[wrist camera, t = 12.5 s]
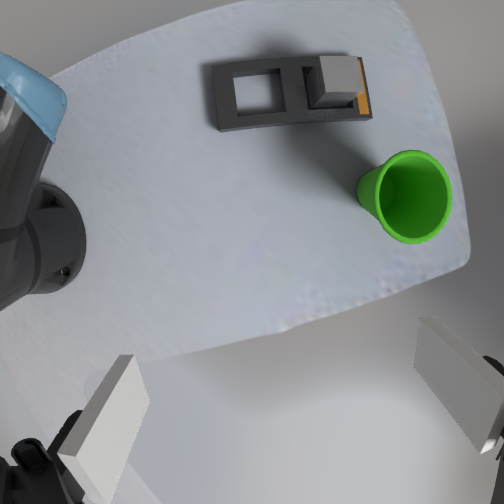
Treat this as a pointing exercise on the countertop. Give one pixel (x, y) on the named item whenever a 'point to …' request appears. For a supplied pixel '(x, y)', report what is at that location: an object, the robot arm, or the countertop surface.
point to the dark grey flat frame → (291, 95)
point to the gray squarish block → (334, 81)
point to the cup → (408, 196)
